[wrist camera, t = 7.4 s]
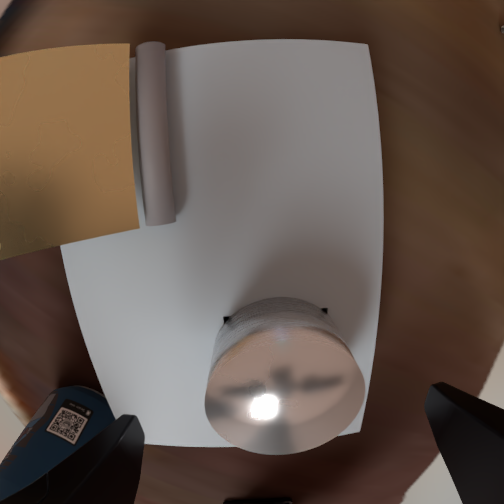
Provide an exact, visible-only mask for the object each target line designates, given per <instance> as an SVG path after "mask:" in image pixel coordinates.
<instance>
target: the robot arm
mask: <svg viewBox="0 0 504 504" xmlns="http://www.w3.org/2000/svg"><path fill="white" fill-rule="evenodd" d="M424 408H425V412H426V414H427V417H428V420H429V423H430V426H431V429H432V432H433V435H434V438H435V441H436V443H437V446H438V448H439V451H440V453H441V455H442V457H443V459H444V461H445V464H446V466H447V468H448V470H449V473H450V475H451V477H452V479H453V482H454V484H455V486H456V489H457V491H458V494H459V496H460V498H461V501H462V503H463V504H504V409H502V408H499V407H497V406H495V405H493V404H490V403H488V402H486V401H484V400H481V399H479V398H477V397H475V396H472V395H470V394H468V393H466V392H464V391H462V390H459V389H457V388H455V387H453V386H451V385H449V384H446V383H444V382H439V383H436V384H432V385H431V386H430V388H429V391H428V394H427V397H426V400H425V405H424ZM144 442H145V434H144V431H143V429H142V426H141V424H140V422H139V419H138V417H137V416H136V415H132V414H123V415H121V416H120V417H119V418H117V419H116V420H115V421H114V422H112V423H111V424H110V425H109V426H107V427H106V428H105V429H103V430H102V431H101V432H100V433H98V434H97V435H96V436H95V437H93V438H92V439H91V440H89V441H88V442H87V443H85V444H84V445H83V446H82V447H80V448H79V449H78V450H76V451H75V452H74V453H72V454H71V455H70V456H68V457H67V458H66V459H64V460H63V461H62V462H60V463H59V464H58V465H56V466H55V467H54V468H52V469H51V470H49V471H48V473H45V474H44V475H42V476H41V477H40V478H38V479H37V480H35V481H34V482H32V483H31V484H29V485H28V486H26V487H25V488H23V489H21V490H19V491H18V492H16V493H14V494H12V495H10V496H8V497H6V498H4V499H2V500H1V501H0V504H134V501H135V497H136V493H137V489H138V484H139V480H140V474H141V465H142V457H143V449H144ZM223 504H292V499H291V498H284V499H273V500H258V501H225V502H223Z"/></svg>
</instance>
